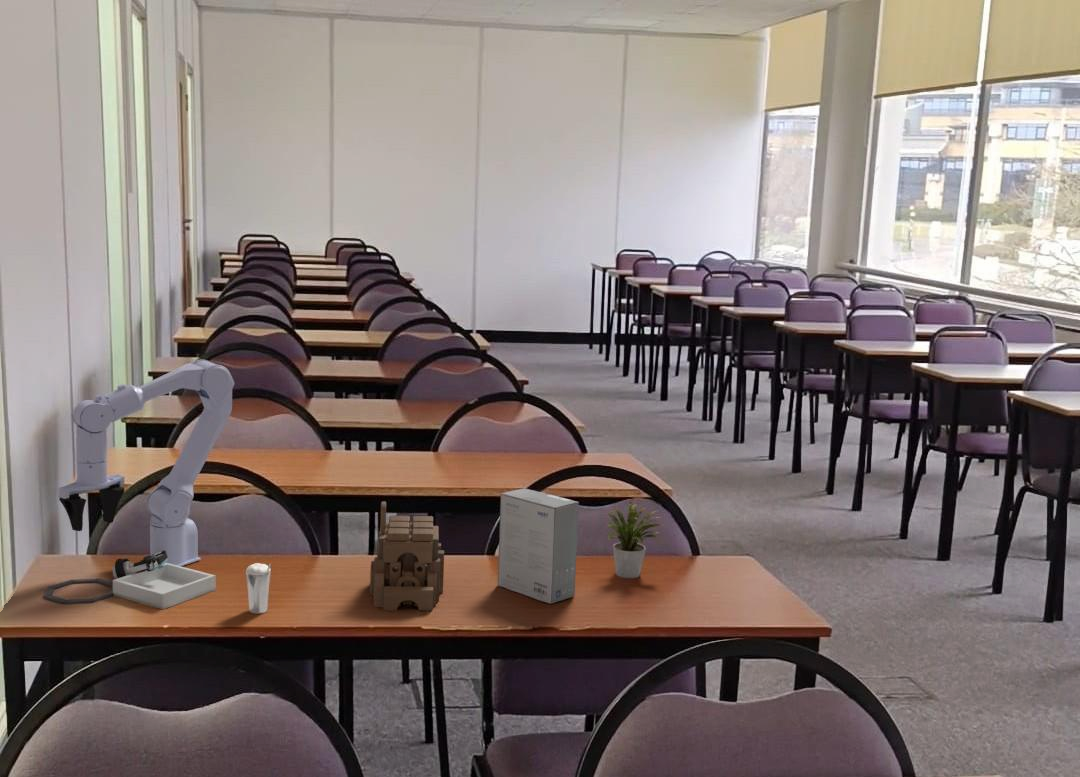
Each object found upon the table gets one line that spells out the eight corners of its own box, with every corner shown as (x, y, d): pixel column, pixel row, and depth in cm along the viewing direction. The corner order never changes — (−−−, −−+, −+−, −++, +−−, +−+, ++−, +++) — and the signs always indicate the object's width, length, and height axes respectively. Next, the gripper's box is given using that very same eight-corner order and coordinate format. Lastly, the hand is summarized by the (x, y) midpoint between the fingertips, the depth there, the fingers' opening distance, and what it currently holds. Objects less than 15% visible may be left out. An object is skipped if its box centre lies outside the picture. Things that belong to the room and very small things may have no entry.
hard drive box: (576, 597, 232) (580, 502, 229) (550, 605, 227) (555, 508, 224) (521, 578, 243) (524, 486, 240) (495, 585, 237) (499, 492, 234)
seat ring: (86, 576, 232) (86, 574, 232) (131, 589, 226) (131, 587, 226) (30, 594, 221) (30, 592, 221) (76, 608, 215) (76, 606, 215)
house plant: (623, 591, 237) (627, 514, 234) (579, 572, 248) (583, 499, 245) (671, 579, 246) (676, 505, 243) (627, 562, 257) (631, 491, 254)
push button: (152, 552, 223) (104, 567, 224) (162, 577, 224) (114, 592, 224) (163, 542, 230) (117, 557, 230) (172, 567, 231) (126, 581, 231)
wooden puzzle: (443, 611, 221) (446, 518, 218) (367, 611, 220) (369, 517, 217) (442, 574, 243) (445, 489, 240) (373, 574, 242) (374, 488, 239)
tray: (166, 576, 234) (166, 562, 234) (215, 589, 228) (215, 575, 227) (112, 595, 222) (112, 580, 222) (162, 609, 216) (162, 594, 215)
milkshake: (261, 617, 214) (261, 566, 212) (240, 611, 217) (240, 560, 215) (278, 611, 218) (278, 560, 216) (258, 604, 220) (258, 555, 219)
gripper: (107, 451, 238) (108, 515, 240) (47, 463, 225) (48, 530, 227) (131, 456, 234) (132, 520, 236) (71, 469, 222) (72, 536, 224)
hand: (92, 526), depth 231 cm, fingers open, 7 cm apart
